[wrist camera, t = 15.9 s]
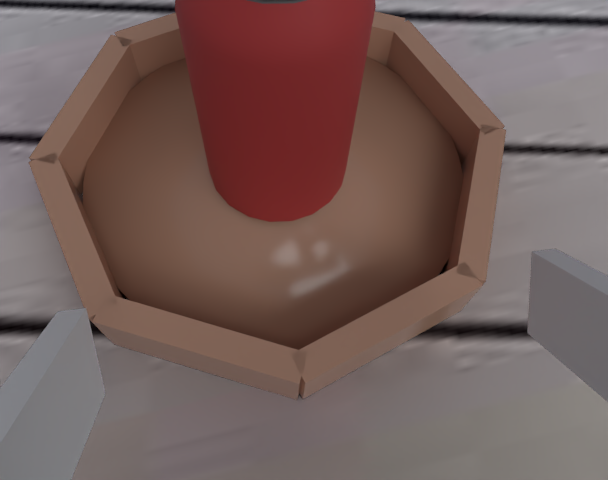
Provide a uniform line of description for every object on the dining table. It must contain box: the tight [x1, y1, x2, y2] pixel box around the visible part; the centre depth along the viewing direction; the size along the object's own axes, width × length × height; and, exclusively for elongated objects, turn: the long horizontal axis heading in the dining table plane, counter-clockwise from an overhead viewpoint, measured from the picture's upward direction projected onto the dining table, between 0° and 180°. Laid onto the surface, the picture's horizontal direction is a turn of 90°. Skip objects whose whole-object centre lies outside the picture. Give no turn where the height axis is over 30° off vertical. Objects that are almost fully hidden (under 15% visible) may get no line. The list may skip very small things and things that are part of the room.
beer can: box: [175, 0, 375, 222], centre depth 21 cm, size 7×7×12 cm
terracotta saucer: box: [29, 12, 506, 400], centre depth 25 cm, size 20×20×3 cm
